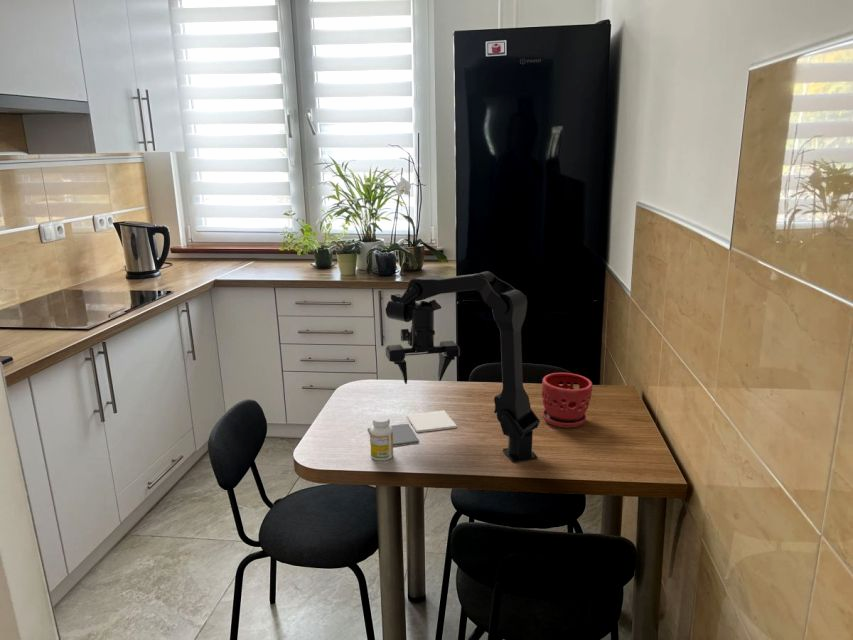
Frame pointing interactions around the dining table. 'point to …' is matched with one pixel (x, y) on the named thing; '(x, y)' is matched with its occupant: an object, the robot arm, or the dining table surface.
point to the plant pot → (565, 399)
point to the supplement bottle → (381, 438)
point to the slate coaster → (402, 435)
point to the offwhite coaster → (431, 421)
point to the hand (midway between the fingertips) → (422, 382)
